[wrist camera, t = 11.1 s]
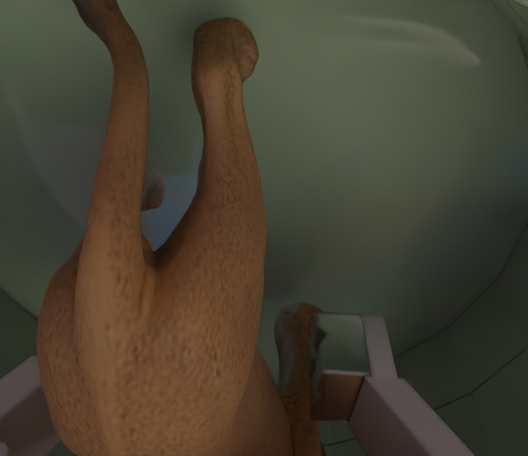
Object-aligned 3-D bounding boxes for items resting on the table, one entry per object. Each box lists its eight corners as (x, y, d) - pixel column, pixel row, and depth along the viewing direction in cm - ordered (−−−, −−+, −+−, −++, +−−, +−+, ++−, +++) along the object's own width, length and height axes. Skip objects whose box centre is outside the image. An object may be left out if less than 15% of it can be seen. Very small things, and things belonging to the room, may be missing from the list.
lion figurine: (396, 380, 16) (470, 790, 9) (250, 405, 18) (222, 774, 11) (204, -117, 8) (-585, 423, 1) (-48, 9, 9) (-1106, 587, 2)
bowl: (741, -140, 9) (1185, -112, 4) (443, 396, 20) (488, 550, 16) (-263, -229, 8) (-839, -291, 4) (11, 370, 19) (-64, 521, 15)
